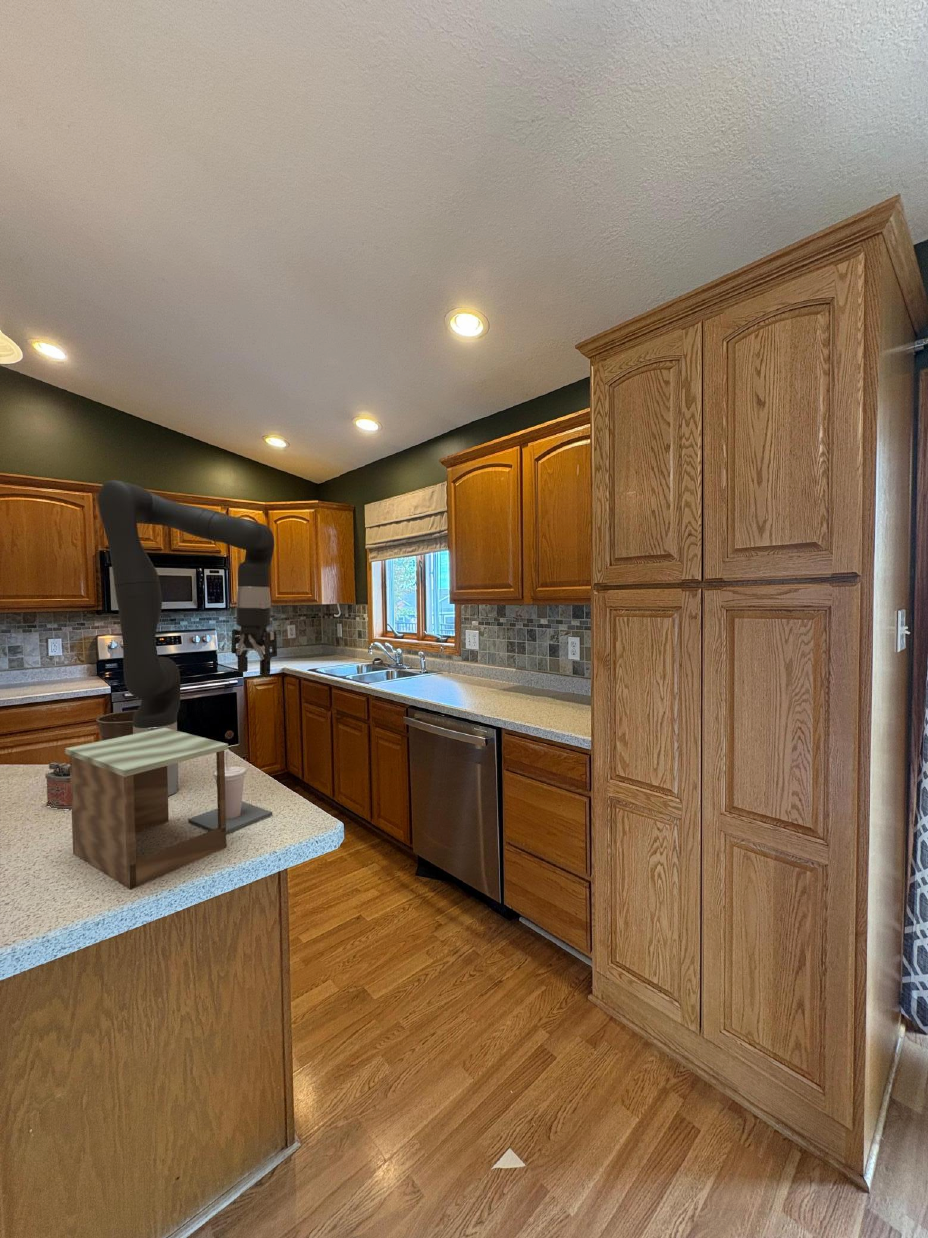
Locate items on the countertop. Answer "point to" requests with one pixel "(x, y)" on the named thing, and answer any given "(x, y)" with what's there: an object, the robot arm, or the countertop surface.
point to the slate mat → (245, 818)
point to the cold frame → (136, 802)
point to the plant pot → (116, 724)
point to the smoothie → (233, 788)
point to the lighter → (59, 786)
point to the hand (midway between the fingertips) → (253, 673)
